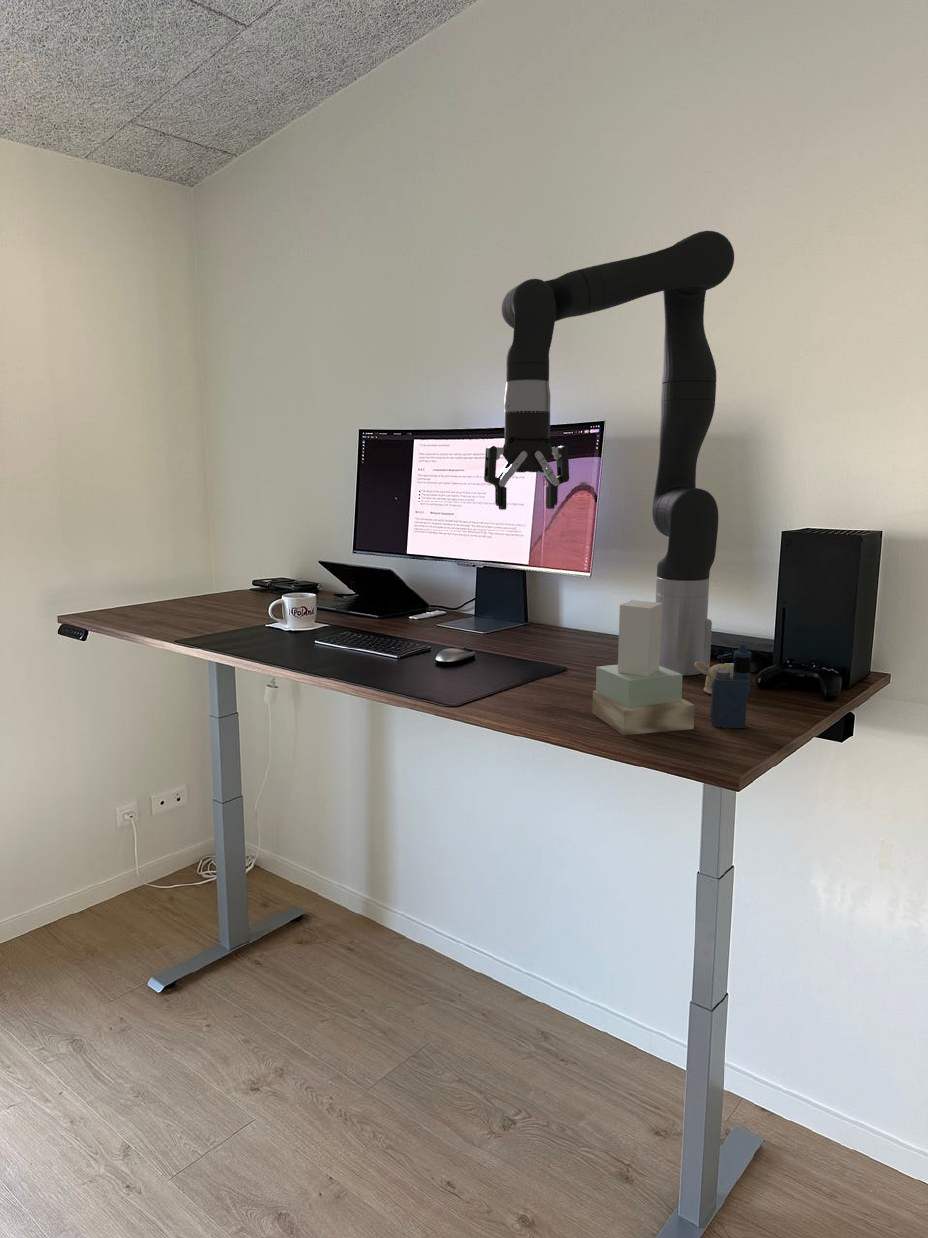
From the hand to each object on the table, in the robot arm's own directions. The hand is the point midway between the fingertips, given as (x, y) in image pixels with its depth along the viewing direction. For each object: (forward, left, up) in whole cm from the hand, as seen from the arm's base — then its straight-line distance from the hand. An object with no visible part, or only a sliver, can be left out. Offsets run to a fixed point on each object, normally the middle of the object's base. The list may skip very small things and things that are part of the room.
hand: (526, 509), depth 143 cm
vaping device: (-20, +32, -30) cm, 48 cm away
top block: (-9, +25, -26) cm, 38 cm away
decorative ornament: (-29, +16, -30) cm, 45 cm away
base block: (-9, +26, -30) cm, 41 cm away
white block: (-8, +26, -22) cm, 35 cm away
